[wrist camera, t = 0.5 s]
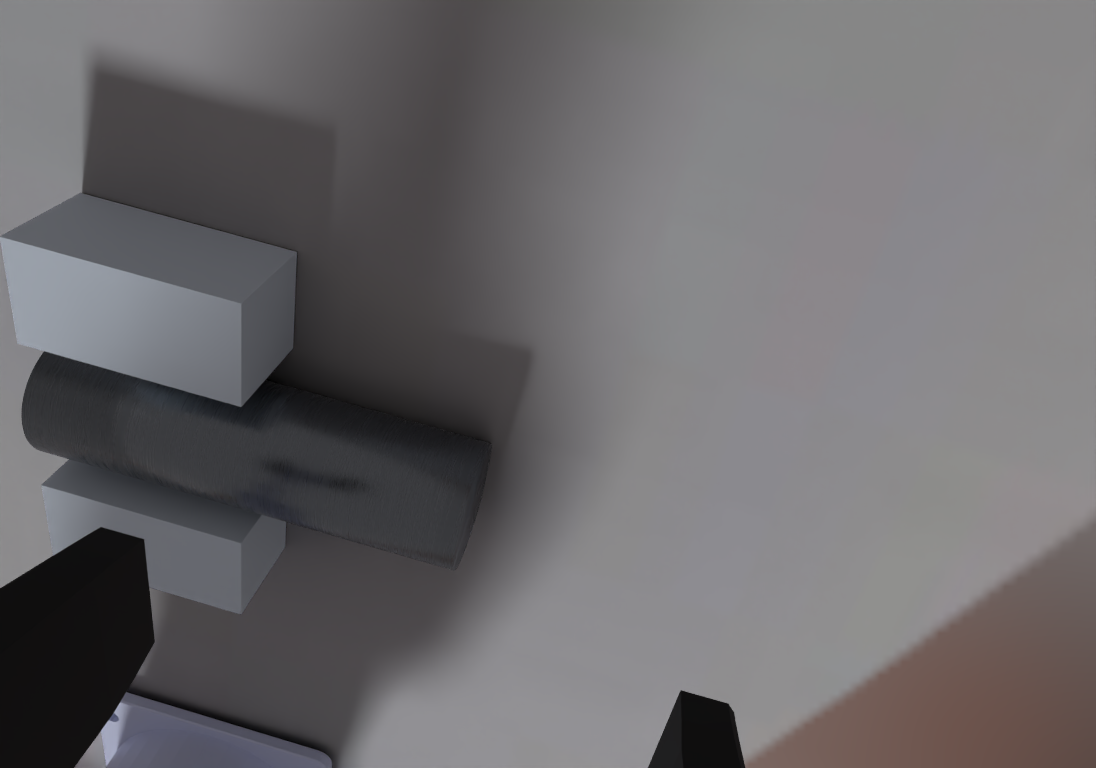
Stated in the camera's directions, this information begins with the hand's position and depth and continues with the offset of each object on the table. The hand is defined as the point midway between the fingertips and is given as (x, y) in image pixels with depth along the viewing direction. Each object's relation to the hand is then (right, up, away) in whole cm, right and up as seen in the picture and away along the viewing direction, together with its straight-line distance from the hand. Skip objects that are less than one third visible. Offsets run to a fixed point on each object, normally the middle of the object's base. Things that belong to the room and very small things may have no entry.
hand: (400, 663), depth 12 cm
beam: (-7, +4, +10) cm, 13 cm away
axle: (-4, +3, +10) cm, 11 cm away
